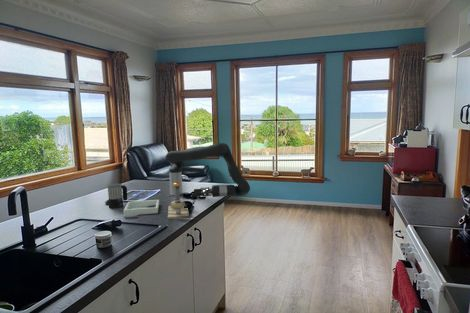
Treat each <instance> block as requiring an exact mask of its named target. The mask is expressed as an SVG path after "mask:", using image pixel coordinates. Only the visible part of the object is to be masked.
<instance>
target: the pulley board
mask: <svg viewBox="0 0 470 313" xmlns="http://www.w3.org/2000/svg"><path fill="white" fill-rule="evenodd" d="M185 204H186V203H185V201H184V200H181V199H180V200H177V201H175V200H172V201H171V202H170V205H168V207H167V208H168V210H167V220H177V218H179V219H189V218H190V217H189V216H190V214H189V209H188V208H184V206H185Z"/></svg>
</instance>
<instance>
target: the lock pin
mask: <svg viewBox="0 0 470 313" xmlns="http://www.w3.org/2000/svg"><path fill="white" fill-rule="evenodd" d="M173 186H174V187H175V195H174V198H175V200H174V201H177V200H180V201H181V197H180V196H181V195H180V190H179V186H181V183H173Z"/></svg>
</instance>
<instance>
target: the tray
mask: <svg viewBox="0 0 470 313" xmlns="http://www.w3.org/2000/svg"><path fill="white" fill-rule="evenodd" d="M150 206H152V207H150ZM153 206H154V207H153ZM159 207H160V199H150V200H148V199H147V200H135V201H128V202H127V203H126V205H125V207H124V208H123V218H134V217H137V216H138V215H147V214H148V215H150V214H158V213H159Z"/></svg>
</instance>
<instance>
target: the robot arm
mask: <svg viewBox="0 0 470 313" xmlns="http://www.w3.org/2000/svg"><path fill="white" fill-rule="evenodd" d="M207 157H218V158H220V157H222V158H223V159H224V161H225V162H226V167H227V172H228V174H229V176H230V178H231V179H232V181H233V183H236V185H234V184H216V185H213V184H212V185H211V188H210V186H208V187H207V186H206V187H200V188H194V189H193V193H194V196H195V197H197V196H201V197H212V198H219V197H222V198H223V197H227V196H238V197H241V196H242V197H243V196H244V197H245V196H247V195H248V194H249V192H250V190H251V186H250V184H249V183H248V181H247V179H246V178H244V176H243V175H242V172H241V171H240V169H239V167H238V165H237V164H236V161H235V159H234V156H233V154H232V151H231V149H230V146H229V145H228V144H227V143H226V142H225V143H224V142H223V143H222V142H217V143H214V144H210V145H207V146H195V147H194V146H193V147H191V148H187V149H183V150H171V151H168V152H167V153H166V154H165V160H166V161H167V163H168V164H172V165H171V166H170V167H169V168H168V173H169V192H170V195H171V196H175V187H174V186H173V183H181V186H179V190H180V196H181V195H183V174H182V169H183V162H184V161H185V162H187V161H189V162H190V161H198V160H199V161H200V160H203V159H205V158H207Z"/></svg>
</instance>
